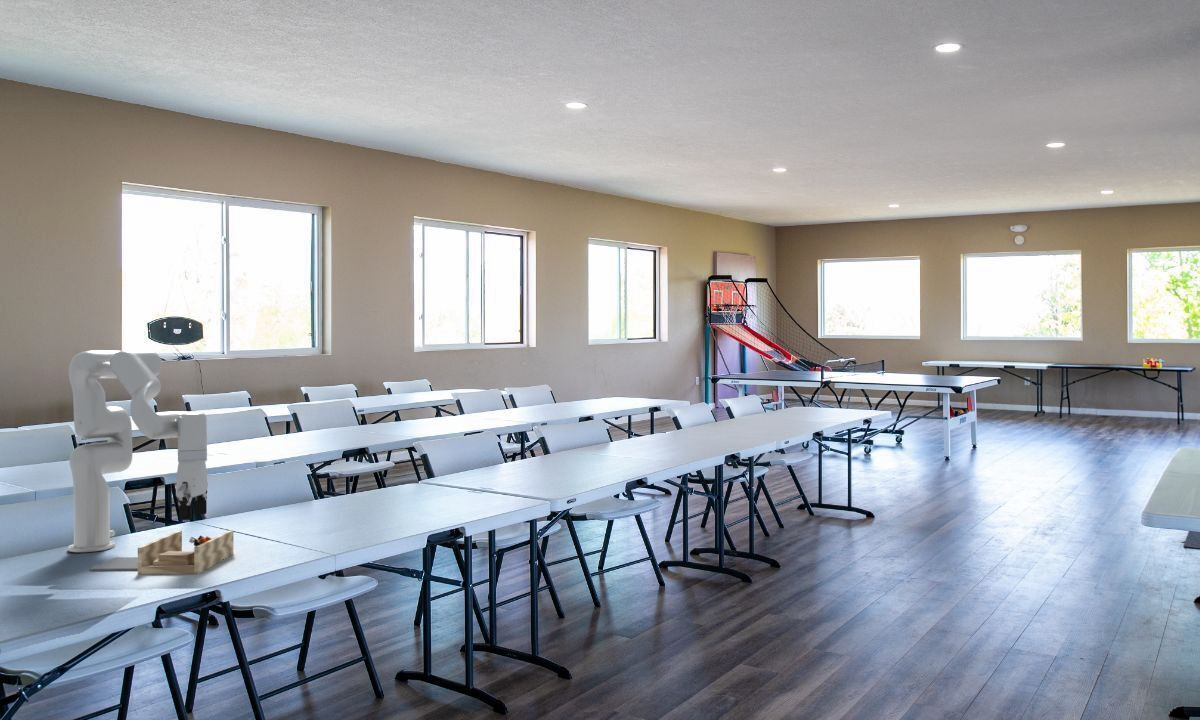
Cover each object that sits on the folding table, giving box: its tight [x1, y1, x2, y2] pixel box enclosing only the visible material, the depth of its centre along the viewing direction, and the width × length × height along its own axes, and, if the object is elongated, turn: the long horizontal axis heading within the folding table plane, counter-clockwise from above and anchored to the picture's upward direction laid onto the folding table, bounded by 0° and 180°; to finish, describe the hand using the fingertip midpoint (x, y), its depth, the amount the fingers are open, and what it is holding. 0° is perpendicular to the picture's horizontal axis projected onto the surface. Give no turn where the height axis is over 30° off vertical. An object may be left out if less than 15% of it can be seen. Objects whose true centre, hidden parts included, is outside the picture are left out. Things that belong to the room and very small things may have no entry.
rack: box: [137, 530, 234, 575], centre depth 252 cm, size 24×16×7 cm, turn 1°
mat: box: [88, 556, 138, 572], centre depth 251 cm, size 14×14×1 cm
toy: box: [188, 535, 212, 547], centre depth 264 cm, size 8×6×15 cm
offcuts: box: [153, 550, 194, 566], centre depth 245 cm, size 6×10×4 cm, turn 91°
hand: (193, 516), depth 255 cm, fingers open, 9 cm apart
